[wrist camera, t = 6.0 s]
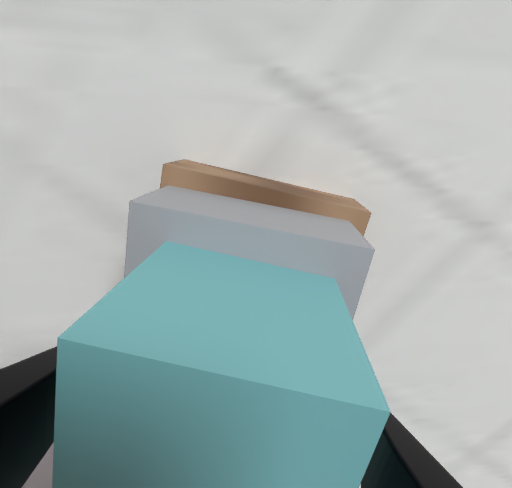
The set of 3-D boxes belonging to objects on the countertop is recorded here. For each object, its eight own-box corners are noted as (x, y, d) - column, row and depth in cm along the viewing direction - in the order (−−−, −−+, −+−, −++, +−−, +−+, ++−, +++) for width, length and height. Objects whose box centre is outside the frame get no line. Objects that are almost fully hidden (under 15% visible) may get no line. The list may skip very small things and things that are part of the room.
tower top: (151, 341, 15) (115, 399, 12) (168, 185, 13) (129, 201, 9) (306, 372, 15) (315, 439, 11) (349, 220, 13) (374, 249, 9)
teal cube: (147, 380, 11) (49, 559, 6) (166, 241, 10) (57, 338, 5) (293, 413, 11) (304, 615, 6) (335, 278, 10) (390, 412, 5)
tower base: (164, 306, 18) (139, 343, 15) (187, 158, 16) (163, 163, 12) (307, 339, 18) (313, 383, 15) (351, 197, 16) (371, 212, 13)
